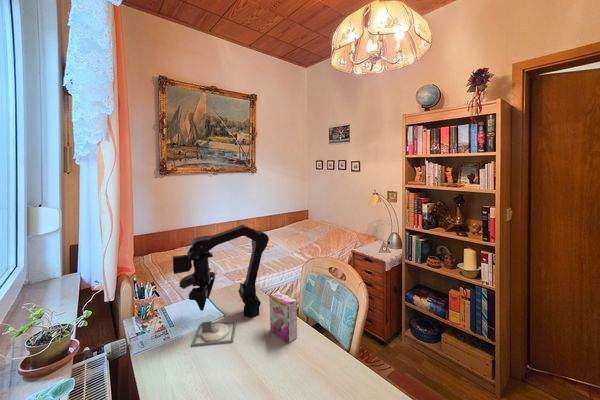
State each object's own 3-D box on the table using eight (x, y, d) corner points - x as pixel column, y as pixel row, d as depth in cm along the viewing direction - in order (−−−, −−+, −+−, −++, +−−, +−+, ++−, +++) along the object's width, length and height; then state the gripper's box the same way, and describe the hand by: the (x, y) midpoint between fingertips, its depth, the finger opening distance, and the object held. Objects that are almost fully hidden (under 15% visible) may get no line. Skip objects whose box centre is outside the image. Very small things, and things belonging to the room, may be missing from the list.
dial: (230, 324, 112) (229, 313, 111) (226, 340, 102) (226, 328, 102) (205, 327, 111) (204, 315, 110) (199, 343, 101) (198, 330, 100)
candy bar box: (269, 331, 109) (268, 294, 107) (278, 326, 113) (278, 290, 110) (288, 344, 102) (288, 304, 99) (297, 338, 105) (297, 299, 103)
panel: (236, 324, 114) (236, 320, 114) (233, 345, 101) (232, 340, 101) (200, 327, 112) (200, 323, 112) (192, 349, 99) (191, 344, 99)
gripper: (188, 261, 116) (191, 294, 119) (172, 280, 98) (176, 319, 100) (214, 259, 117) (217, 292, 120) (203, 278, 99) (207, 316, 101)
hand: (204, 303), depth 110 cm, fingers open, 9 cm apart
